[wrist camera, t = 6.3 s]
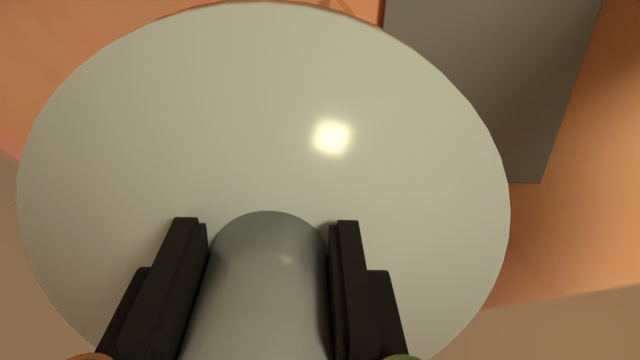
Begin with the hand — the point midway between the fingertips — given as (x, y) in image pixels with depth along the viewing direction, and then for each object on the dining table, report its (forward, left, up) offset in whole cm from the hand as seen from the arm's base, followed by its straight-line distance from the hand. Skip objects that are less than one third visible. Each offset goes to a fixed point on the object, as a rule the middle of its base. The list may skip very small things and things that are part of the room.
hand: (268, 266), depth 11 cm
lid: (0, 0, -2) cm, 2 cm away
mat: (-13, +2, -22) cm, 25 cm away
